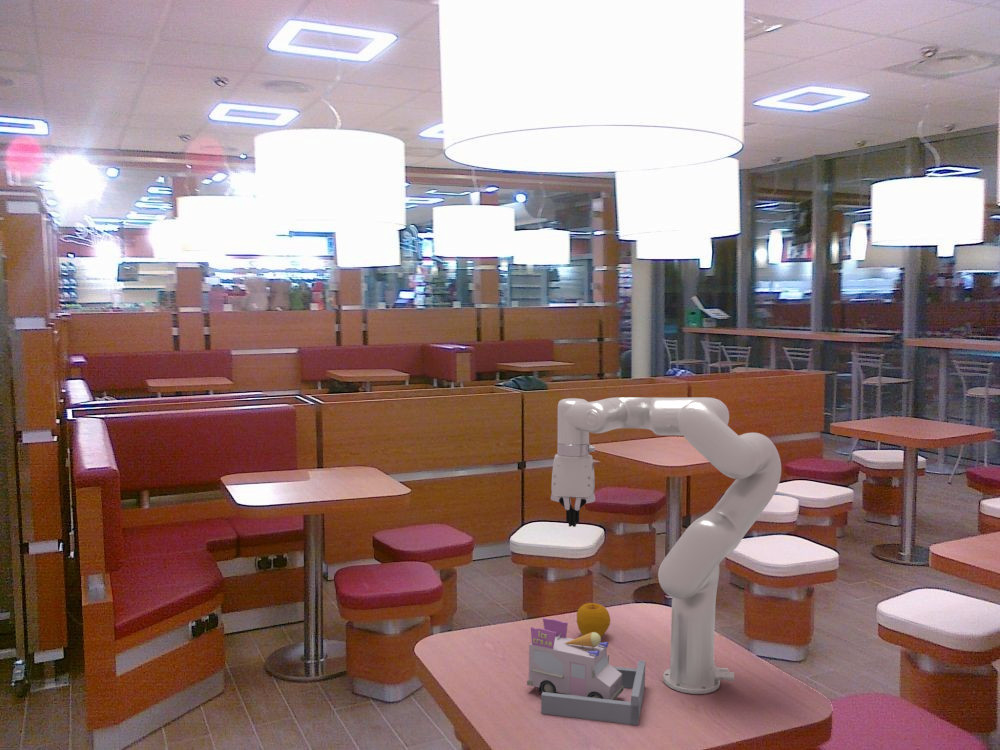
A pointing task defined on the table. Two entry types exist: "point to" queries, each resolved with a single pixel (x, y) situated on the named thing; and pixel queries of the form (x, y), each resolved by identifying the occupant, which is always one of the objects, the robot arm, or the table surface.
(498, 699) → the table surface
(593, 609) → the apple
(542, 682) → the toy vehicle
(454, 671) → the table surface
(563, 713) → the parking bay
